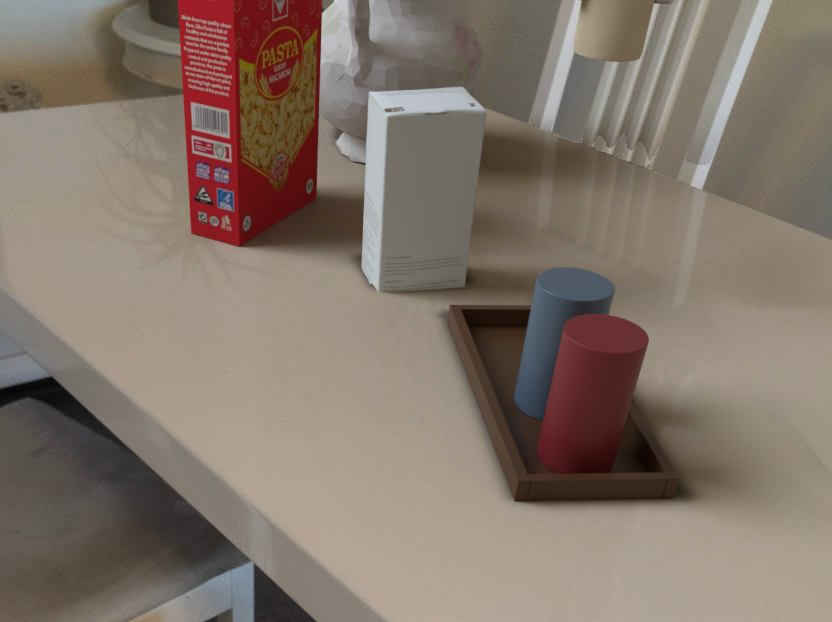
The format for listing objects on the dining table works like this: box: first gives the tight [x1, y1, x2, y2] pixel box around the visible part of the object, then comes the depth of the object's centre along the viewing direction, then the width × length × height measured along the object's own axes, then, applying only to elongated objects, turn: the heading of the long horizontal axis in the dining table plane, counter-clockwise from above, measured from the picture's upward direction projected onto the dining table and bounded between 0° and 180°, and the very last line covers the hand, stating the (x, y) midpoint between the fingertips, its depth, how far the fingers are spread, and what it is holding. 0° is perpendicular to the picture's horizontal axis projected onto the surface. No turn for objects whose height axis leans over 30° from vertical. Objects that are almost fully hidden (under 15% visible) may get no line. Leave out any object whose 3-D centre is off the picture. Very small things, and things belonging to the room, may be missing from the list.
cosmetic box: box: [361, 87, 488, 293], centre depth 81 cm, size 8×6×15 cm
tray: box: [447, 304, 680, 502], centre depth 71 cm, size 11×25×2 cm, turn 6°
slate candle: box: [514, 266, 616, 420], centre depth 68 cm, size 5×5×9 cm
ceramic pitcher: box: [319, 0, 484, 164], centre depth 102 cm, size 22×20×25 cm
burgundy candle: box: [537, 314, 650, 474], centre depth 63 cm, size 5×5×9 cm
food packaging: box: [177, 0, 323, 247], centre depth 86 cm, size 15×5×25 cm, turn 153°
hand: (617, 0), depth 76 cm, fingers closed on candle, 5 cm apart
